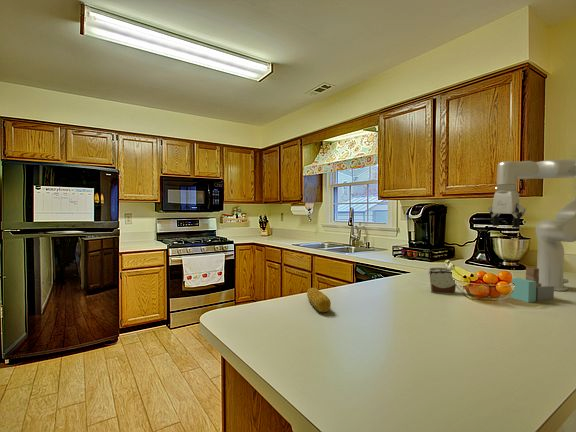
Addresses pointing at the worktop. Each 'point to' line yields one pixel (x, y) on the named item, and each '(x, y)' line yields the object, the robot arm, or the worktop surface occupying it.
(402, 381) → the worktop surface
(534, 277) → the rod
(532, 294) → the teal rectangular block
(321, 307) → the food
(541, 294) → the guide channel
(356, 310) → the worktop surface
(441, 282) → the food container
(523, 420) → the worktop surface
